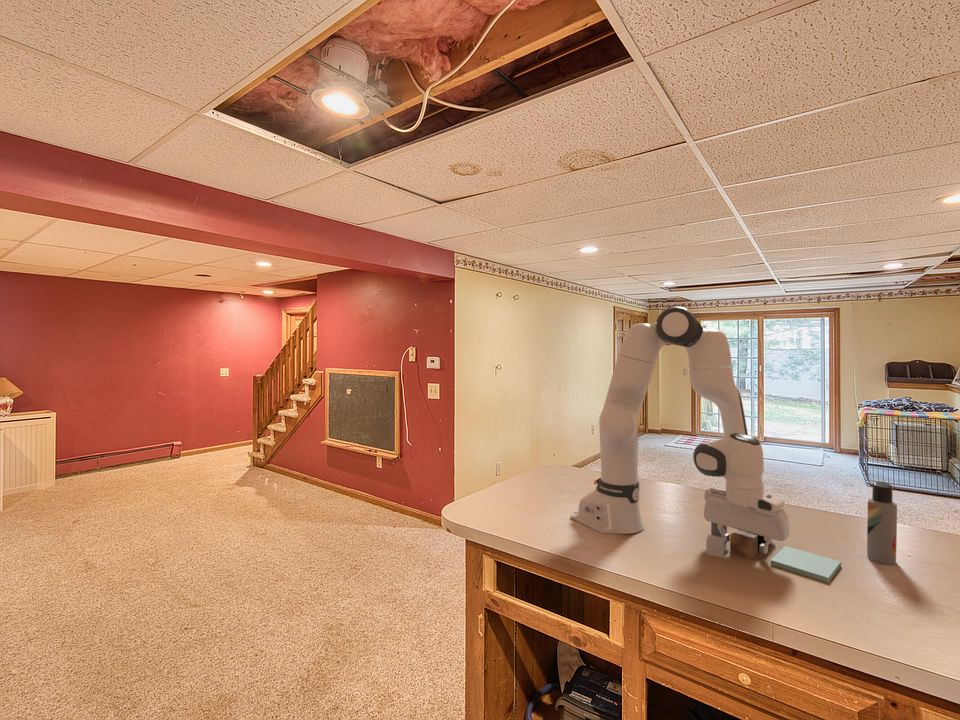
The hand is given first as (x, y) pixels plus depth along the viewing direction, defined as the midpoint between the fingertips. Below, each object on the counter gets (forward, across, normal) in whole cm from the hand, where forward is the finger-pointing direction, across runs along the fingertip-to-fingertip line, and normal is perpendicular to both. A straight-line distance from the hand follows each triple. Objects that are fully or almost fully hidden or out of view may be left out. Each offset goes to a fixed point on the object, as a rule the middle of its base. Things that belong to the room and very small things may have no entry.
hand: (744, 546), depth 123 cm
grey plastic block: (+2, -5, -6) cm, 8 cm away
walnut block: (+2, 0, 0) cm, 2 cm away
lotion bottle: (+2, +25, +22) cm, 33 cm away
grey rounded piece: (+2, -8, +4) cm, 9 cm away
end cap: (+2, 0, +9) cm, 9 cm away
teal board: (+2, +13, +4) cm, 14 cm away
